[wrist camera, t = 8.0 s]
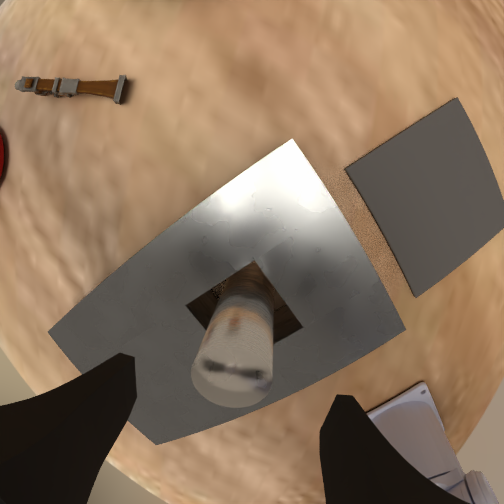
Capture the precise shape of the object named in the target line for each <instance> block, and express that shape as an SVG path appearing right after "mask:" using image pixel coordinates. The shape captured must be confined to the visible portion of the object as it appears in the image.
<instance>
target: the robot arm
mask: <svg viewBox="0 0 504 504" xmlns="http://www.w3.org/2000/svg"><path fill="white" fill-rule="evenodd" d="M136 399H137V387H136V371H135V357H133V356H130V355H127V354H123V353H118V354H116V355H114V356H113V357H111V358H109V359H108V360H106V361H104V362H103V363H101V364H99V365H98V366H96V367H94V368H93V369H91V370H89V371H88V372H86V373H84V374H82V375H81V376H79V377H77V378H75V379H73V380H71V381H69V382H67V383H65V384H63V385H61V386H59V387H57V388H55V389H53V390H51V391H48V392H46V393H43V394H41V395H38V396H35V397H32V398H30V399H26V400H22V401H19V402H15V403H11V404H7V405H2V406H0V504H87V501H88V498H89V496H90V493H91V490H92V487H93V485H94V482H95V480H96V477H97V475H98V472H99V470H100V468H101V466H102V464H103V462H104V460H105V458H106V457H107V455H108V453H109V451H110V450H111V448H112V446H113V444H114V443H115V441H116V439H117V438H118V436H119V434H120V432H121V431H122V429H123V427H124V426H125V424H126V422H127V420H128V418H129V416H130V414H131V411H132V409H133V406H134V404H135V401H136ZM444 431H445V429H444V426H443V423H442V421H441V418H440V416H439V413H438V411H437V408H436V406H435V404H434V401H433V399H432V396H431V394H430V392H429V389H428V387H427V385H426V383H425V382H421V383H419V384H417V385H416V386H414V387H412V388H411V389H409V390H407V391H406V392H404V393H402V394H401V395H399V396H397V397H396V398H394V399H392V400H390V401H389V402H387V403H385V404H383V405H381V406H380V407H378V408H376V409H374V410H372V411H370V412H368V413H365V411H364V410H363V409H362V407H361V406H360V405H359V403H358V402H357V401H356V399H355V398H354V397H353V396H350V395H336V397H335V400H334V402H333V404H332V406H331V408H330V411H329V413H328V415H327V417H326V419H325V421H324V423H323V425H322V427H321V429H320V461H321V468H322V475H323V483H324V490H325V497H326V504H499V502H498V500H497V498H496V496H495V494H494V492H493V490H492V488H491V486H490V484H489V482H488V481H487V479H486V477H485V476H484V474H483V473H482V472H480V471H476V472H475V471H474V470H471V471H470V472H469V473H468V474H465V473H464V472H463V470H462V468H461V466H460V463H459V461H458V459H457V457H456V455H455V453H454V451H453V449H452V447H451V445H450V443H449V441H448V439H447V437H446V435H445V433H444Z"/></svg>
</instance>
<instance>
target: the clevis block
mask: <svg viewBox="0 0 504 504" xmlns="http://www.w3.org/2000/svg"><path fill="white" fill-rule="evenodd" d="M254 260H255V261H256V263H257V264H258V266H259V267H260V268H261V270H262V271H263V272H264V274H265V275H266V277H267V278H268V279H269V281H270V282H271V284H272V285H273V286H274V288H275V289H276V290H277V292H278V293H279V295H280V296H281V297H282V299H283V300H284V301H285V303H286V305H285V306H283V307H281V308H280V309H278V310H276V311H275V312H274V324H273V368H272V386H271V389H270V391H269V393H268V394H267V396H266V397H265V398H264V399H263V400H261V401H260V402H258V403H256V404H254V405H251V406H248V407H242V408H230V407H224V406H220V405H217V404H215V403H213V402H211V401H209V400H207V399H206V398H205V397H203V396H202V395H201V394H200V393H199V392H198V391H197V389H196V388H195V386H194V384H193V382H192V378H191V368H192V365H193V363H194V360H195V358H196V355H197V353H198V350H199V348H200V345H201V343H202V340H203V338H204V335H205V333H206V330H207V328H208V325H209V323H210V321H211V318H212V316H213V313H214V311H215V308H216V306H217V303H218V299H217V298H216V297H215V296H214V294H213V293H212V292H211V290H210V289H211V288H213V287H214V286H216V285H217V284H219V283H220V282H222V281H223V280H225V279H227V278H228V277H230V276H231V275H233V274H234V273H236V272H237V271H239V270H240V269H242V268H243V267H245V266H246V265H248V264H249V263H251V262H253V261H254ZM405 330H406V328H405V326H404V324H403V322H402V320H401V318H400V316H399V314H398V312H397V310H396V308H395V306H394V304H393V302H392V301H391V299H390V297H389V295H388V293H387V291H386V289H385V287H384V285H383V283H382V282H381V280H380V278H379V276H378V274H377V272H376V271H375V269H374V267H373V265H372V263H371V262H370V260H369V258H368V256H367V255H366V253H365V251H364V249H363V248H362V246H361V244H360V242H359V241H358V239H357V237H356V236H355V234H354V232H353V231H352V229H351V227H350V226H349V224H348V222H347V221H346V219H345V217H344V216H343V214H342V213H341V211H340V209H339V208H338V206H337V205H336V203H335V201H334V200H333V198H332V197H331V195H330V194H329V192H328V190H327V189H326V187H325V186H324V184H323V183H322V181H321V180H320V178H319V177H318V175H317V174H316V172H315V171H314V169H313V168H312V166H311V165H310V163H309V162H308V160H307V159H306V158H305V156H304V155H303V153H302V152H301V150H300V149H299V148H298V146H297V145H296V143H295V142H294V140H293V139H291V140H289V141H288V142H286V143H285V144H283V145H282V146H280V147H279V148H277V149H276V150H274V151H273V152H271V153H270V154H269V155H267V156H266V157H264V158H263V159H261V160H260V161H258V162H257V163H255V164H254V165H253V166H251V167H250V168H248V169H247V170H245V171H244V172H243V173H241V174H240V175H238V176H237V177H235V178H234V179H233V180H231V181H230V182H229V183H227V184H226V185H224V186H223V187H222V188H220V189H219V190H217V191H216V192H215V193H213V194H212V195H211V196H209V197H208V198H207V199H205V200H204V201H203V202H201V203H200V204H199V205H197V206H196V207H195V208H193V209H192V210H191V211H189V212H188V213H187V214H185V215H184V216H183V217H181V218H180V219H179V220H178V221H176V222H175V223H174V224H172V225H171V226H170V227H169V228H167V229H166V230H165V231H164V232H162V233H161V234H160V235H158V236H157V237H156V238H155V239H153V240H152V241H151V242H150V243H148V244H147V245H146V246H145V247H144V248H142V249H141V250H140V251H139V252H137V253H136V254H135V255H134V256H133V257H131V258H130V259H129V260H128V261H127V262H125V263H124V264H123V265H122V266H121V267H119V268H118V269H117V270H116V271H115V272H113V273H112V274H111V275H110V276H109V277H108V278H106V279H105V280H104V281H103V282H102V283H101V284H100V285H98V286H97V287H96V288H95V289H94V290H93V291H92V292H90V293H89V294H88V295H87V296H86V297H85V298H84V299H83V300H81V301H80V302H79V303H78V304H77V305H76V306H75V307H74V308H73V309H71V310H70V311H69V312H68V313H67V314H66V315H65V316H64V317H63V318H62V319H61V320H60V321H59V322H57V323H56V324H55V325H54V326H53V327H52V328H51V329H50V330H49V331H48V333H49V335H50V336H51V337H52V338H53V340H54V341H55V342H56V344H57V345H58V346H59V347H60V349H61V350H62V351H63V352H64V354H65V355H66V356H67V357H68V358H69V360H70V361H71V362H72V363H73V364H74V365H75V367H76V368H77V369H78V370H79V371H80V372H81V373H82V374H84V373H86V372H88V371H89V370H91V369H93V368H94V367H96V366H98V365H99V364H101V363H103V362H104V361H106V360H108V359H109V358H111V357H113V356H114V355H116V354H118V353H123V354H127V355H130V356H133V357H135V371H136V387H137V399H136V401H135V404H134V406H133V409H132V411H131V414H130V416H129V418H128V421H129V422H130V423H131V424H132V425H133V426H134V427H135V428H137V429H138V430H139V431H140V432H141V433H142V434H143V435H145V436H146V437H147V438H148V439H149V440H151V441H152V442H153V443H154V444H155V445H159V444H162V443H166V442H169V441H172V440H176V439H179V438H182V437H185V436H188V435H191V434H194V433H197V432H200V431H203V430H206V429H209V428H212V427H214V426H217V425H220V424H223V423H225V422H228V421H230V420H233V419H236V418H238V417H241V416H243V415H246V414H248V413H250V412H253V411H255V410H258V409H260V408H262V407H265V406H267V405H269V404H271V403H274V402H276V401H278V400H280V399H283V398H285V397H287V396H289V395H291V394H293V393H295V392H297V391H299V390H302V389H304V388H306V387H308V386H310V385H312V384H314V383H316V382H317V381H319V380H321V379H323V378H325V377H327V376H329V375H331V374H333V373H335V372H336V371H338V370H340V369H342V368H344V367H346V366H347V365H349V364H351V363H353V362H354V361H356V360H358V359H360V358H361V357H363V356H365V355H366V354H368V353H370V352H371V351H373V350H375V349H376V348H378V347H380V346H381V345H383V344H384V343H386V342H388V341H389V340H391V339H392V338H394V337H395V336H397V335H399V334H400V333H402V332H403V331H405Z"/></svg>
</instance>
